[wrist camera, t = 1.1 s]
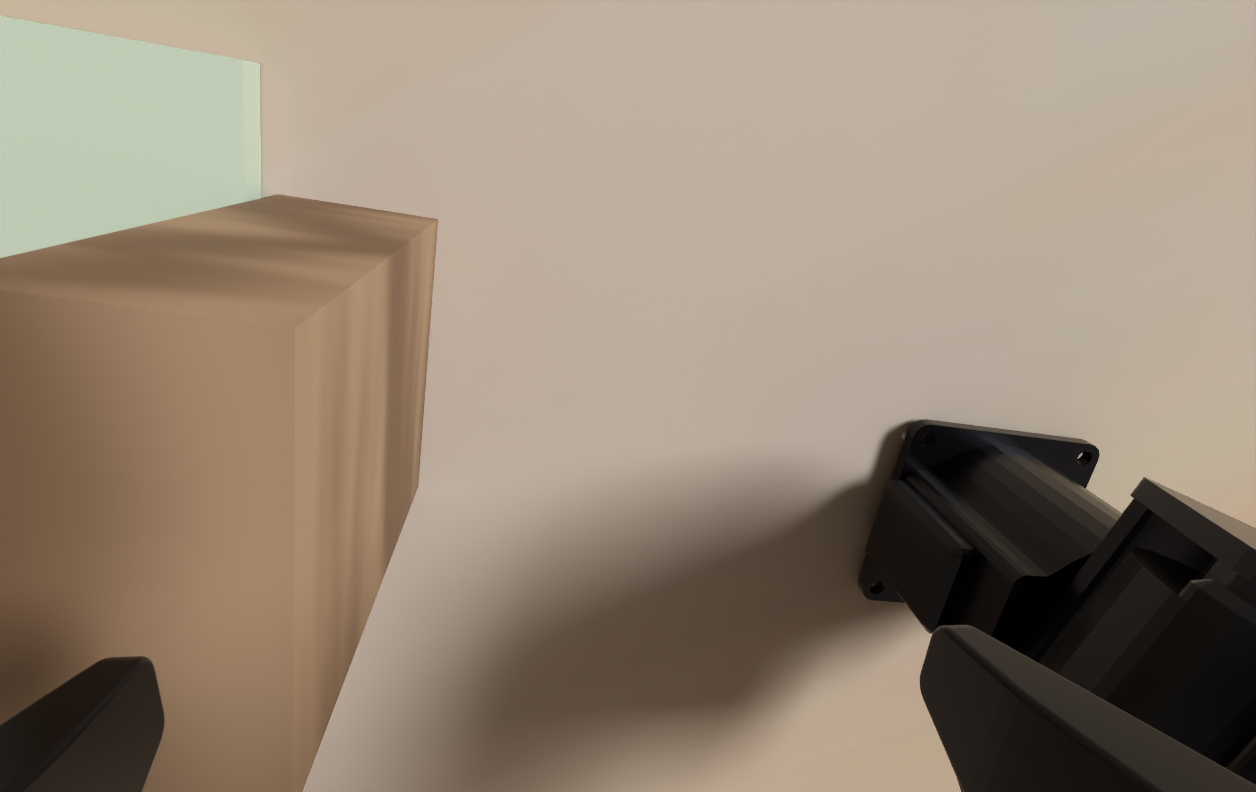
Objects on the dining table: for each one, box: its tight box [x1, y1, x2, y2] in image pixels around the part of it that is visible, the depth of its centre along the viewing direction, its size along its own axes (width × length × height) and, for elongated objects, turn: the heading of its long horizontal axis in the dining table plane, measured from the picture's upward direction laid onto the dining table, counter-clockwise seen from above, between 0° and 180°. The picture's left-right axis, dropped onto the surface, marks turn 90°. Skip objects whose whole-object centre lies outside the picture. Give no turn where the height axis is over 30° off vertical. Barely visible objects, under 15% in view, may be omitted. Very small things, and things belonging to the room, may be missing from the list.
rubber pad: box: [0, 16, 261, 258], centre depth 18 cm, size 12×14×1 cm
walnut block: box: [0, 194, 438, 792], centre depth 14 cm, size 4×8×11 cm, turn 171°
